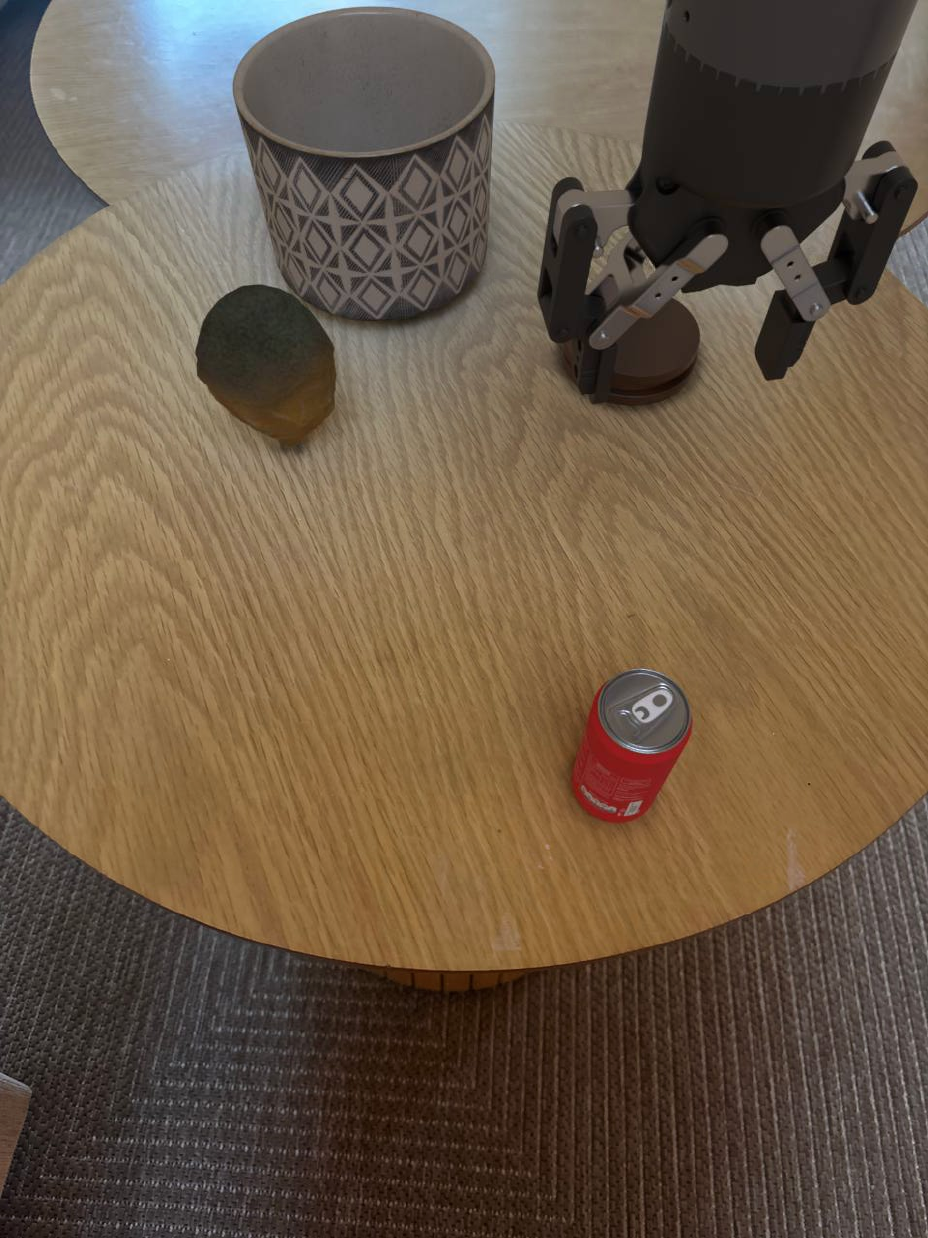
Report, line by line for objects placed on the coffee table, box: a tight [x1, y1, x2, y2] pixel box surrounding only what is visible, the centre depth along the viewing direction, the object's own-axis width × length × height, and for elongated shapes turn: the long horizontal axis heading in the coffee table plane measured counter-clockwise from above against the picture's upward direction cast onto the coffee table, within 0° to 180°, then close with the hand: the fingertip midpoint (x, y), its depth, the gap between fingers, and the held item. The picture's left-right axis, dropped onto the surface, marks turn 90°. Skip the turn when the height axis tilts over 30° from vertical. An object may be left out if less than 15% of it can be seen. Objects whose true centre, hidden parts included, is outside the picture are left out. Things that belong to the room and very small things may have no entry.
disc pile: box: [561, 296, 701, 406], centre depth 72 cm, size 11×11×3 cm
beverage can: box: [571, 667, 694, 824], centre depth 50 cm, size 5×5×12 cm
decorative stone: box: [194, 283, 337, 447], centre depth 62 cm, size 10×6×15 cm, turn 95°
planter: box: [231, 5, 496, 322], centre depth 72 cm, size 19×19×16 cm
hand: (681, 379), depth 42 cm, fingers open, 8 cm apart
